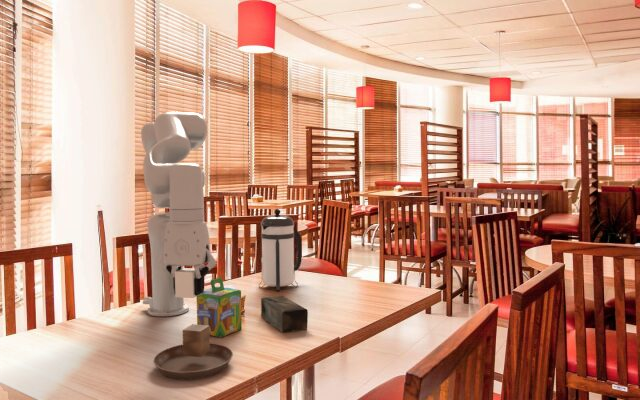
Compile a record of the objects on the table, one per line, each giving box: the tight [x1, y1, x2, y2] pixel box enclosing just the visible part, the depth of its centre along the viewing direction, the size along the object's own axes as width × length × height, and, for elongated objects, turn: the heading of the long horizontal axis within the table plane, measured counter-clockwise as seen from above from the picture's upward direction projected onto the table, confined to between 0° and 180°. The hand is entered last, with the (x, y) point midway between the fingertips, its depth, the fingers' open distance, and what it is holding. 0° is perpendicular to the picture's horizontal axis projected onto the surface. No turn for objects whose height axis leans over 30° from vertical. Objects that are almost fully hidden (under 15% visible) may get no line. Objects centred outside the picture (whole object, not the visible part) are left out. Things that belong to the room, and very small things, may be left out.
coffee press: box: [258, 208, 303, 293], centre depth 197 cm, size 17×16×30 cm
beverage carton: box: [260, 295, 309, 334], centre depth 152 cm, size 8×19×7 cm, turn 25°
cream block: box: [175, 267, 201, 299], centre depth 121 cm, size 4×4×6 cm
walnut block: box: [182, 323, 211, 357], centre depth 120 cm, size 4×4×6 cm
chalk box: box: [196, 277, 242, 338], centre depth 144 cm, size 9×9×15 cm
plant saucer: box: [153, 342, 234, 381], centre depth 119 cm, size 18×18×3 cm
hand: (189, 292), depth 121 cm, fingers closed on cream block, 4 cm apart
